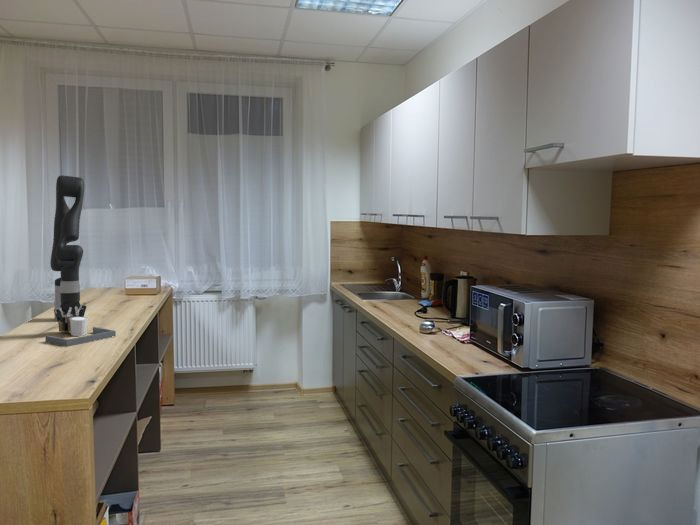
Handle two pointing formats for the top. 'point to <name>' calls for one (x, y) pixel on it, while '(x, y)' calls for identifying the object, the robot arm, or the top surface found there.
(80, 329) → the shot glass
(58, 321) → the block
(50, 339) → the grey u-shaped bracket
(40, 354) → the top surface
